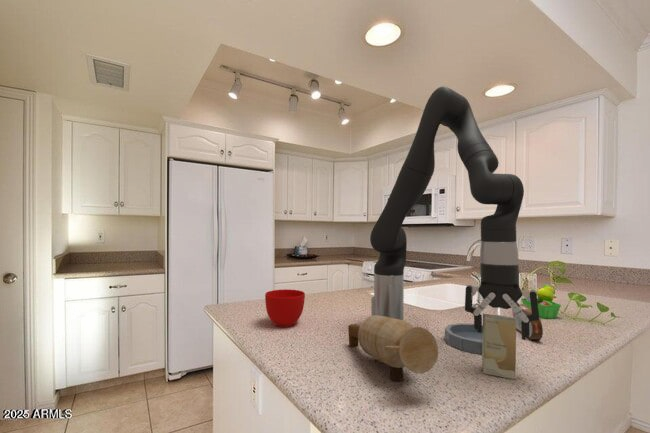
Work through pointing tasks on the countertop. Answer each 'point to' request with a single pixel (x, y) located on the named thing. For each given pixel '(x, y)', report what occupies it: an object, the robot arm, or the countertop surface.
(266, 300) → the ceramic cup
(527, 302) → the fruit basket
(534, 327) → the tin
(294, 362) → the countertop surface
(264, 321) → the countertop surface
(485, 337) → the skincare box
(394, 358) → the wooden log toy
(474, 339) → the round dish
